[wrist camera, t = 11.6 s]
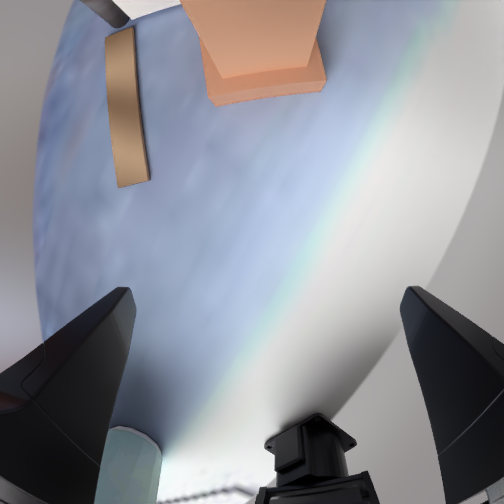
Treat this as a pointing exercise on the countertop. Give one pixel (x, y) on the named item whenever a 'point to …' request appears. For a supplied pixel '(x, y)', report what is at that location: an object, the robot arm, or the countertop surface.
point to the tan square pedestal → (258, 47)
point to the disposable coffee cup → (128, 468)
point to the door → (144, 6)
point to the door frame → (123, 96)
